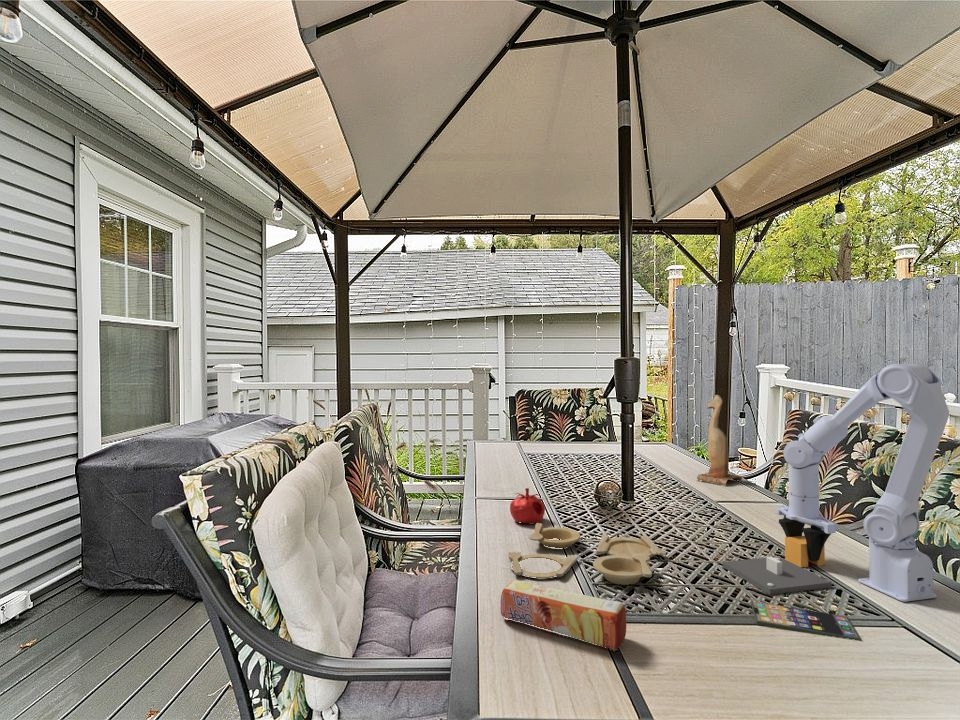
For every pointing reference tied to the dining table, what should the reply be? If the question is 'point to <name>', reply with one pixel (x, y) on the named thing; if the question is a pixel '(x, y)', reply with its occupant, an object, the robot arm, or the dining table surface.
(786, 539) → the orange block
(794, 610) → the smartphone
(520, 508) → the pomegranate
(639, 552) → the tableware set
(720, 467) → the bird sculpture
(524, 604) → the snack package
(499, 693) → the dining table surface
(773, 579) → the plate
